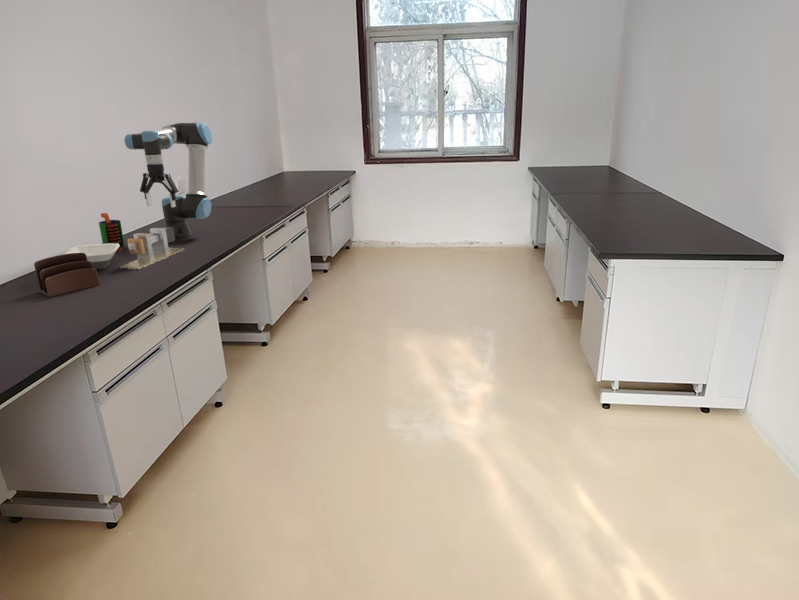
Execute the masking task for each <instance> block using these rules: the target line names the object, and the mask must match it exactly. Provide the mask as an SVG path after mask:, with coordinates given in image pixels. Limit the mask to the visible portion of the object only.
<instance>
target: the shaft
mask: <svg viewBox="0 0 799 600" xmlns="http://www.w3.org/2000/svg"><path fill="white" fill-rule="evenodd" d="M161 228H165V229H166V235H167V241H168V244H169V243H172V242H175V241H176V239H175V236H174V230H173V227H165V226H162V227H161ZM150 237H151V243H154V242H157V241H159V240H160V234H153V235H150ZM143 243H144V240H143ZM144 246H145V245H144ZM127 247H128V251H129V250H136V249H138V248H139V244H138V242H130V243H128V242H127Z"/></svg>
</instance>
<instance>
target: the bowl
mask: <svg viewBox="0 0 799 600" xmlns="http://www.w3.org/2000/svg"><path fill="white" fill-rule="evenodd" d="M119 246H120V245H119V244H118V243H117V244H103V243H98V244H97V243H95V244H86V245H85V244H83V245H75V246H73V247H71V248H69V249H68V250H67V251H65V252H64V253H63V254H70V253H85V254H86V257H87V261H90V262H91V264H92V268H95V269H96V270H97V269H98V270H104V269H106V268H107V267H108V266H109V265H110V263H111V261H112V259H113V256H114V255H115V254H116V253H115V252H116V251H117V249H118V248H119Z"/></svg>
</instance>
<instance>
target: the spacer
mask: <svg viewBox="0 0 799 600" xmlns="http://www.w3.org/2000/svg"><path fill="white" fill-rule="evenodd" d="M126 240H127V244H128V243H130V242H138V244H139V249H140V250H136V249H135V250H129V249H128V251H129V254H131V255H137V254H145V248H144V243H143V239H134V237H133V238H127V239H126Z"/></svg>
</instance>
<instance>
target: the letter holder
mask: <svg viewBox="0 0 799 600" xmlns="http://www.w3.org/2000/svg"><path fill="white" fill-rule="evenodd" d="M33 266H34V270H35V274H36V277H37V281H38V282H37V283H38V286H39V290H40V292H41V294H43V295H45V296H46V297H48V298H51V297H55V296H58V295H64V294H68V293H71V292H72V293H73V292H76V291H81V290H85V289H88V288H89V289H90V288H93V287H97V286H98V287H99V286H100V285H101V283H100V279H99V275H98V271H97V270H96V269H95V268H92V264H91V262H90V261H87V257H86V254H85V253H70V254H64V253H63V254H59V255H54V256H50V257H46V258H43V259H40V260H36V261H34V264H33Z"/></svg>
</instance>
